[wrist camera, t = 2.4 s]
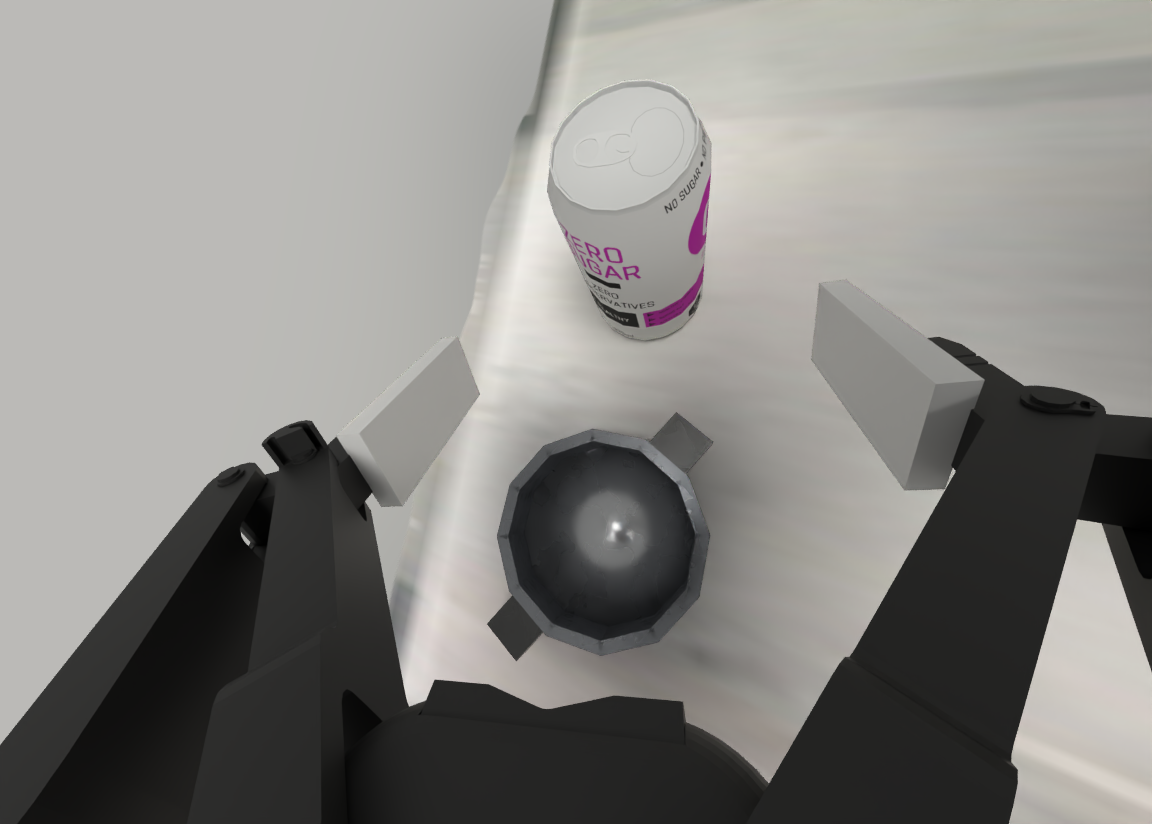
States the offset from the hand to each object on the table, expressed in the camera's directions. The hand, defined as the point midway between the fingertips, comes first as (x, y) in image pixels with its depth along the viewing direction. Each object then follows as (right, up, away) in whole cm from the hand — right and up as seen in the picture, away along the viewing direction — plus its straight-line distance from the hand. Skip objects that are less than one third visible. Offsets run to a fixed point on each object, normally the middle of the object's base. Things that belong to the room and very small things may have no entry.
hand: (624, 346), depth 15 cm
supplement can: (+4, +7, +18) cm, 20 cm away
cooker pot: (+1, -11, +15) cm, 19 cm away
